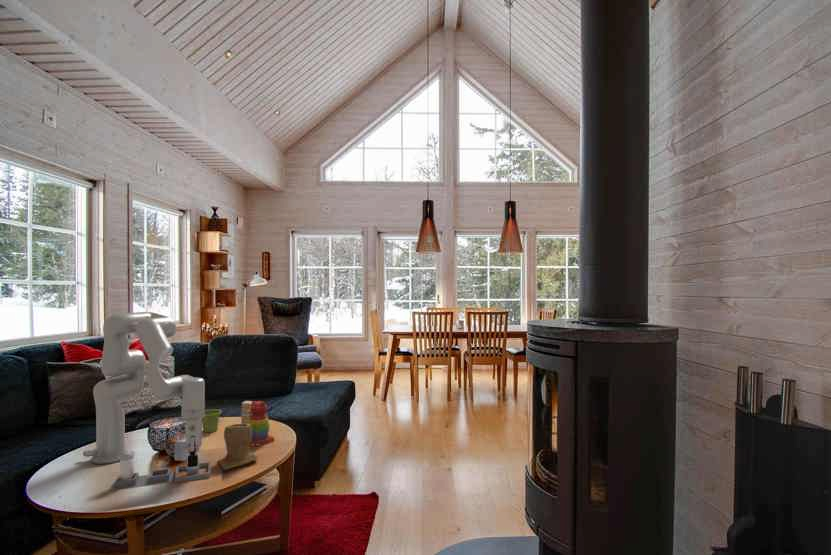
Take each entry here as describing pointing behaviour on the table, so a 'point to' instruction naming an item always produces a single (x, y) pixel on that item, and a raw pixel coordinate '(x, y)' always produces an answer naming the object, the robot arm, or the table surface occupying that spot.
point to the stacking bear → (259, 423)
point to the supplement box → (246, 411)
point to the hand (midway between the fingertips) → (193, 463)
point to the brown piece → (237, 446)
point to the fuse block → (144, 479)
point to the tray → (192, 477)
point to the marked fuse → (193, 469)
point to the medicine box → (181, 450)
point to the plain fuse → (127, 466)
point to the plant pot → (211, 420)
